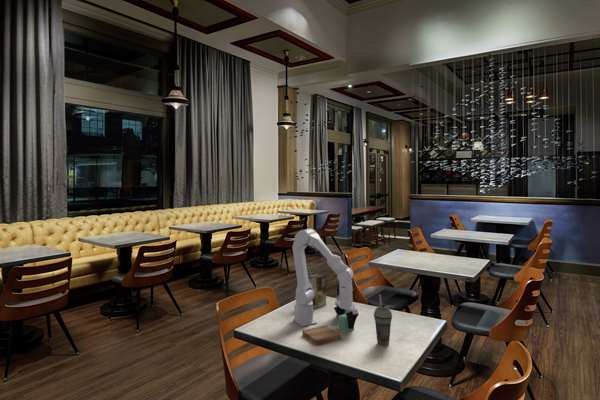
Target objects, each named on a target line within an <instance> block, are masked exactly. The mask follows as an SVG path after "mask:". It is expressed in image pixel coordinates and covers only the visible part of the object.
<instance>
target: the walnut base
mask: <svg viewBox="0 0 600 400" xmlns="http://www.w3.org/2000/svg"><path fill="white" fill-rule="evenodd" d="M302 336H303V337H305V338H306V339H307V340H308V341H310V342H311V343H313V344H314V345H315V346H319V345H320V346H321V345H324V344H328V343H331V342H336V341H341V340H342V339H343V338H342V334H341V333H340V332H338V331H336V330H335V329H334V328H331V327H330V326H328V325H327V324H325V325H321V326H316V327H312V328H308V329H303V330H302Z"/></svg>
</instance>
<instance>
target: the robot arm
mask: <svg viewBox="0 0 600 400" xmlns="http://www.w3.org/2000/svg"><path fill="white" fill-rule="evenodd" d="M307 246H312V247H315V248H316V249H317V250H318V251H319V252H320V253H321V254H322V256H323V257H324V258H326V263H327V265H328V266H329V267H330V268H331V270H332V271H333V272H334V273H335V274H336V275H337V276H336V278H337V280H338V282H339V284H338V285H339V300H340V301H337V300H335V303H334V304H335V306H334V307H333V310H334V311H335V313H336V315H337V317H338V315H342V314H345V310H347V311H349V312H350V313H346V316H347V319H348V327H349V329H353V328H354V329H355V324H356V321H357V318H358V316H359V312H358V309H357V308H356V307H355V304H354V302H353V303H352V296H353V278H354V274H355V273H354V271H353V269H352V268H351V267H349V266H348V265H347V264H345V263H344V261H343V260H342V258H341V257H340V255H337V254H333V253H332V252H331V250H330V249H329V247H328V246H327V245H326V244H325V242H324V240H322V239H321V236H320V235H319V234H318V233H317V232H316V230H315V229H313V228H311V227H310V228H306V229H302V230H301V229H300V230H299V231H298V232H297V233H296V234H295V235H294V240H293V243H292V247H291V248H292V253H293V254H292V255H293V260H294V268H295V274H296V281H297V286H296V289H295V297H294V300H295V305H294V318H293V319H292V321H293V322H295V323H296V324H298V325H299V326H301V327H306V326H310V325H315V324H317V323H318V322H317V321H316V320H314V308H313V299H314V297H315V292H314V290H313V289H312V285H311V284H310V283H309V279H308V276H309V274H308V266H307V260H306V254H305V253H306V252H305V249H306V248H307Z"/></svg>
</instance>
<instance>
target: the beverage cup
mask: <svg viewBox="0 0 600 400" xmlns="http://www.w3.org/2000/svg"><path fill="white" fill-rule="evenodd" d="M379 302H380V305H378V306H377V307H376V308H375V309H374V313H373V317H374V323H375V332H376V333H375V334H376V343H377V345H378V346H380V347H388V346H389V345H390V336H391V326H392V324H391V323H392V319H393V313H392V311H391V308H389V306H387V305H384V304H383V302H382V295H381V294H380V293H379Z"/></svg>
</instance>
